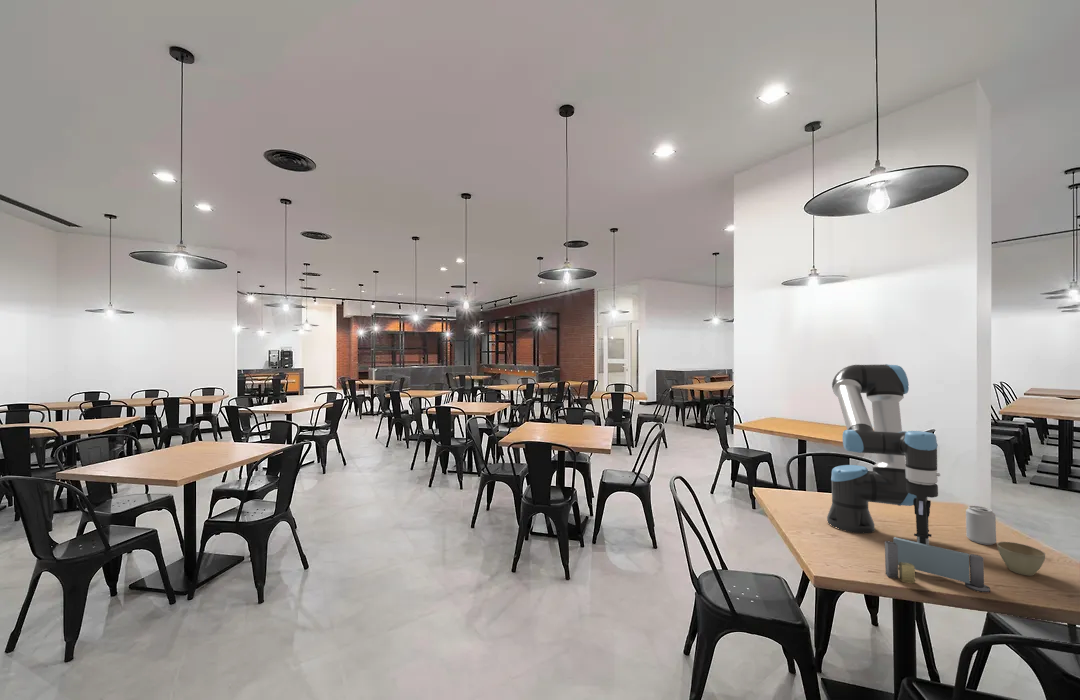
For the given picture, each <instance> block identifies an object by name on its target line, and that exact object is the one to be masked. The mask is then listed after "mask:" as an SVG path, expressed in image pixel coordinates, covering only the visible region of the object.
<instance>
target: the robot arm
mask: <svg viewBox="0 0 1080 700" xmlns="http://www.w3.org/2000/svg"><path fill="white" fill-rule="evenodd" d="M909 386H910V385H909V379H908V375H907V373H906V371H905V369H904V368H903V367H902V366H900V365H898V364H887V363H885V364H851V365H848V366H845V367H843V368H842V369H841V370H840V371H838V372H837V373H836V374H835V376H834V377H833V379H832V383H831V388H832V392H833V394H834V396H835V397H837V398H838V402H839V405H840V410H841V413H842V416H843V421H844V423H845V427H846V429H845V430H843V432H842V446H843V448H844V450H845V451H847V452H851V453H860V454H861V453H862V454H863V453H864V454H876V463H874V465H872V470H868V468H867V466H864V465H856V464H843V465H838V466H835V467H833V468H832V469H831V478H830V481H831V506H830V508H829V511H828V514H827V516H826V519H827V520H826V522H827V521H828V523H829V524H831V525H832V526H834V527H833V528H835V527H837V528H839V529H838V530H840V529H842V530H841V531H843V530H846V531H845V532H848V531H849V532H848V533H853V532H854V533H855V534H872V533H874V532H875V529H876V528H875V523H874V520H873V517H872V515H871V513H870V509H869V503H876V504H877V503H878V504H883V505H885V504H886V505H894V506H898V507H899V506H900V507H901V506H905V507H912V506H913V507H914V515H915V526H916V532H915V533H914V534H913V536H914V537H916V542H918V543H922V544H927V545H930V538H932V534H931V533H930V529H929V517H930V515H931V504H932V503H931V502H932V501H931V500H928V498H932V499H933V498H937V497H938V496H939V485H938V484H937V483H938V482H939V480H938V477H941V474H940V473H939V472H938V447H939V446H938V442H937V441H938V440H937V436H936V434H935V433H933V432H928V431H923V430H908V431H905V430H904V431H903V428H902V427H903V426H902V419H901V417H902V416H901V408H900V402H901V401H902V400H903V399H904V395H907V394H908V392H909ZM862 394H866V399H867V400H868V401H870V402H871V407H872V408H871V409H872V410H871V411H872V420H873V425H872V422H871V419H870V417H869V414H868V411H867V408H866V406H865V403H864V400H863V397H862ZM828 523H827V524H828ZM829 524H828V525H829ZM831 525H830V526H831ZM832 526H831V527H832ZM837 528H836V529H837Z"/></svg>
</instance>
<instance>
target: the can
mask: <svg viewBox="0 0 1080 700" xmlns="http://www.w3.org/2000/svg"><path fill="white" fill-rule="evenodd" d="M993 511H994V510H993V509H991V508H989V507H985V506H981V505H968V506H967V508H966V509H965V531H966V532H965V533H966V534H965V535H966V538H968V539H969V540H970V541H971V542H973V543H975V544H976V543H977V544H980V545H987V546H993V545H994V544H997V525H996V524H997V520H996V518H997V517H996V514H995V513H994V512H993Z"/></svg>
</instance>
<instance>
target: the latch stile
mask: <svg viewBox="0 0 1080 700" xmlns="http://www.w3.org/2000/svg"><path fill="white" fill-rule="evenodd" d="M884 559H885V562H884V565H885V575H886V576H887V577H888V578H889V579H896V580H900V581H901V582H902V583H907V584H916V574H915V567H914V566H913V565H912V564H911V563H903V562H899V565H898V545H897V544H896V543H895V542H893V541H888V540H885V541H884Z"/></svg>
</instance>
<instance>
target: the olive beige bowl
mask: <svg viewBox="0 0 1080 700" xmlns="http://www.w3.org/2000/svg"><path fill="white" fill-rule="evenodd" d="M996 546H997V550H998V553H999V555H1000V558H1001V559H1002V561H1003V562H1004V564H1005V566H1006V567H1007V568H1008V570H1010V572H1013V573H1015V574H1018V575H1022V576H1027V577H1028V576H1034V575H1035V574H1037V572H1039V571H1040V569H1041V568H1042V566H1043V564H1044V561H1045V558H1046V553H1045V552H1044V551H1042V550H1041V549H1039V548H1036V547H1033V546H1030V545H1028V544H1024V543H1019V542H1013V541H999V542H996Z"/></svg>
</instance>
